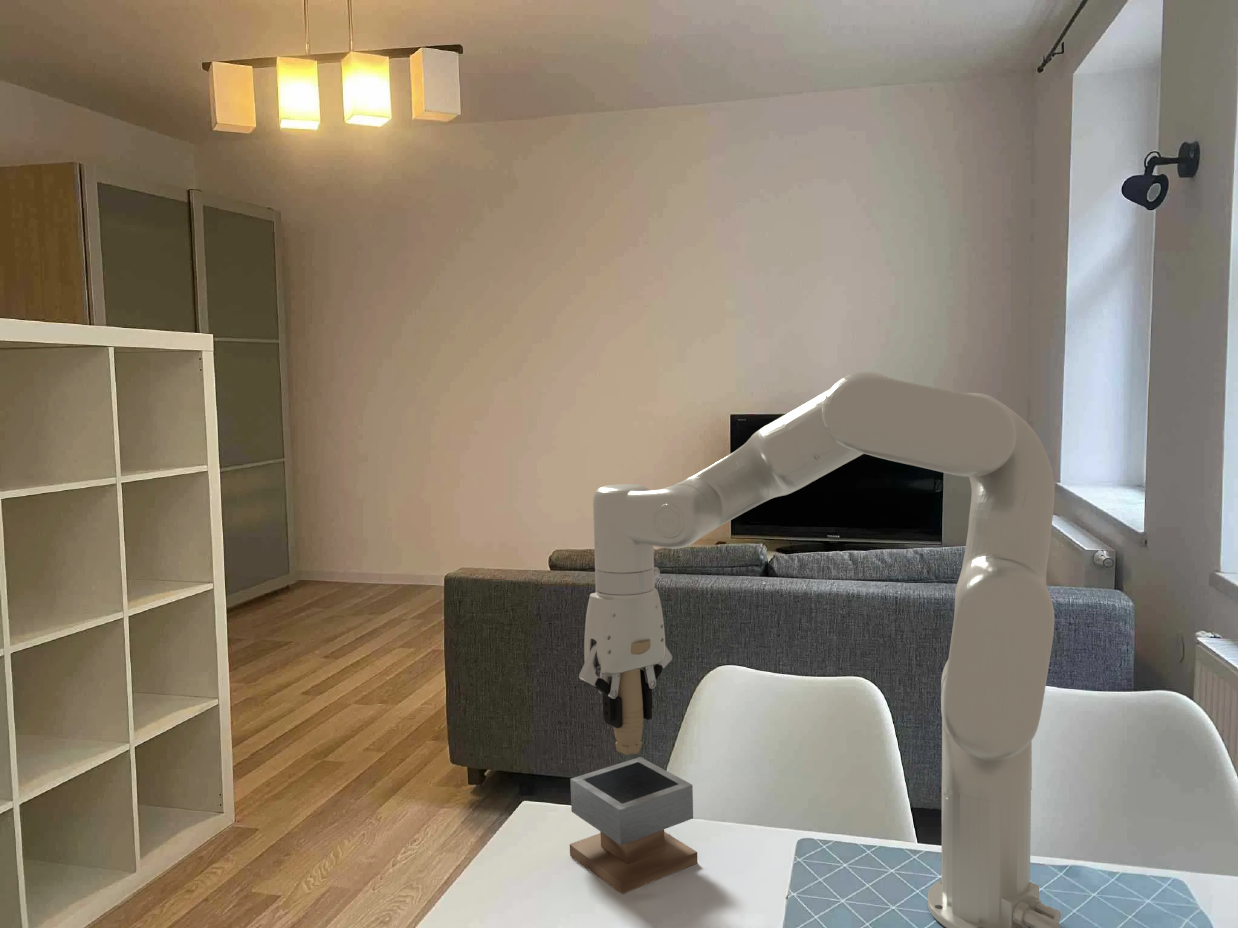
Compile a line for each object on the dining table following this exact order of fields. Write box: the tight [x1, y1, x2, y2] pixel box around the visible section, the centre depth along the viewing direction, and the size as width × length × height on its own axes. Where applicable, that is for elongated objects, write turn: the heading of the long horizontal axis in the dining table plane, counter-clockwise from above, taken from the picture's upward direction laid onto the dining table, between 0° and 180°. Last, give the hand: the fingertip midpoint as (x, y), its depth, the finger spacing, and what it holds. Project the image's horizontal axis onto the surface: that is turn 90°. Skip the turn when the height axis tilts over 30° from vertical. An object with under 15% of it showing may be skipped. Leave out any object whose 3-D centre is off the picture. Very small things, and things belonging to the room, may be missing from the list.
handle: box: [613, 639, 651, 756], centre depth 121 cm, size 5×6×15 cm
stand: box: [569, 829, 699, 895], centre depth 122 cm, size 12×12×6 cm
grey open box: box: [569, 756, 694, 845], centre depth 122 cm, size 11×11×4 cm
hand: (628, 719), depth 121 cm, fingers closed on handle, 4 cm apart
